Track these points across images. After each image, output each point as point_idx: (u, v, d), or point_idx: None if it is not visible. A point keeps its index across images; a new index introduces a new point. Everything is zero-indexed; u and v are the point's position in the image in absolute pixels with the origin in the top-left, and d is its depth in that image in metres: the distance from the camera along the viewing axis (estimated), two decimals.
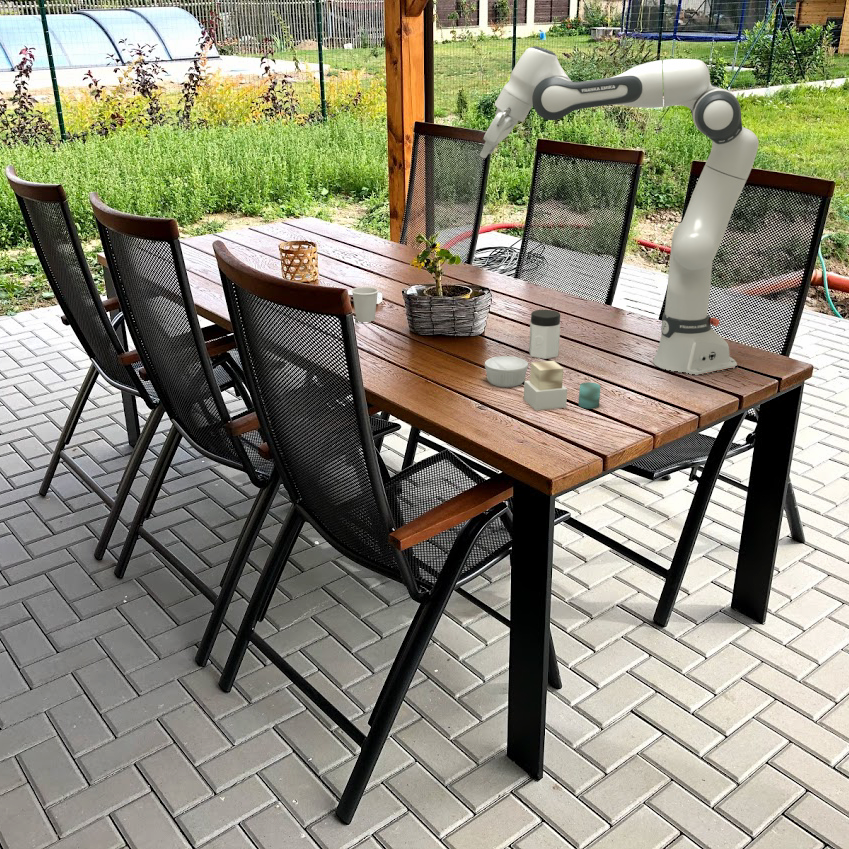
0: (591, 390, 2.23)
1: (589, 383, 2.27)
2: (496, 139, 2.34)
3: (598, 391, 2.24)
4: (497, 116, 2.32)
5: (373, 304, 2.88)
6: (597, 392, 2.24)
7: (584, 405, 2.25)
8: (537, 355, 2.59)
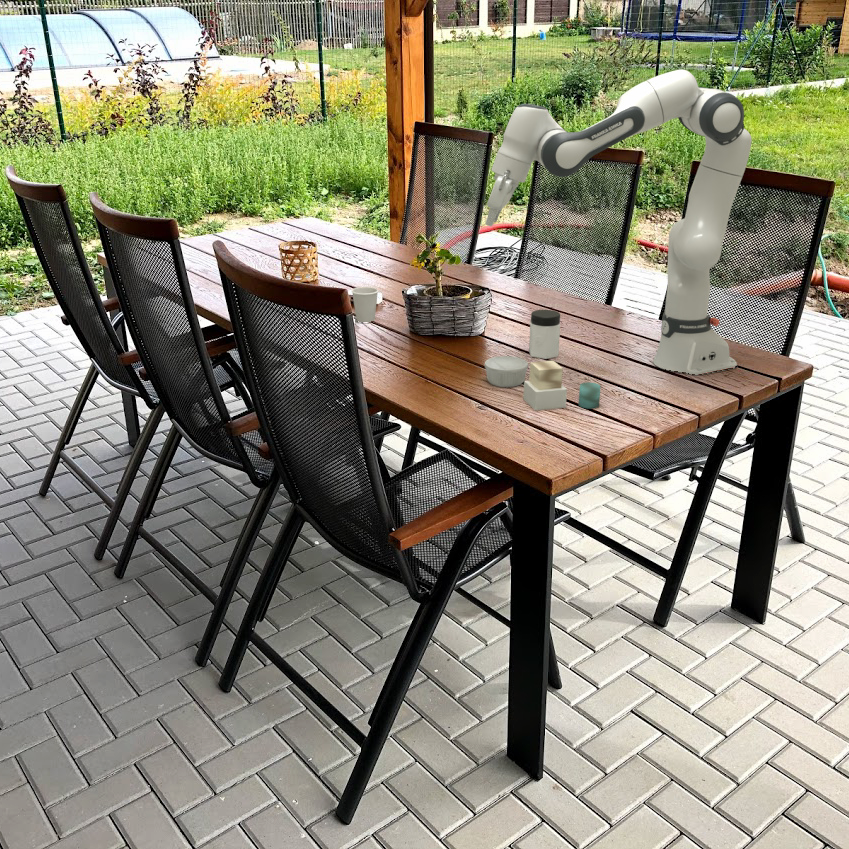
0: (591, 390, 2.23)
1: (589, 383, 2.27)
2: (501, 203, 2.21)
3: (598, 391, 2.24)
4: (498, 180, 2.20)
5: (373, 304, 2.88)
6: (597, 392, 2.24)
7: (584, 405, 2.25)
8: (537, 355, 2.59)
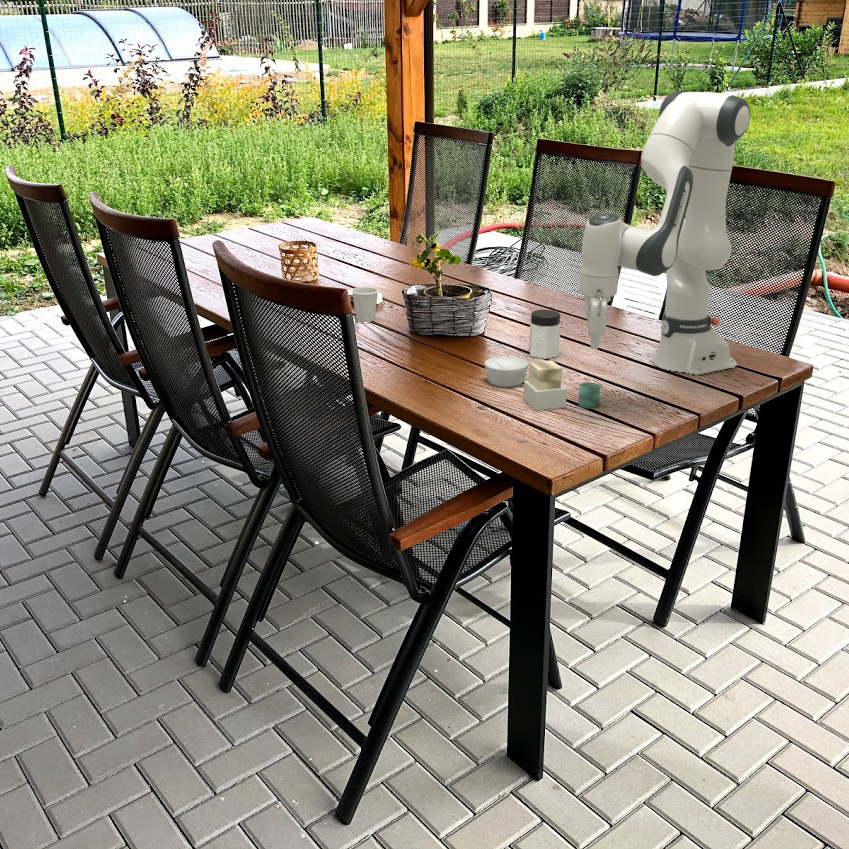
0: (591, 390, 2.23)
1: (589, 383, 2.27)
2: (604, 328, 2.09)
3: (598, 391, 2.24)
4: (593, 306, 2.08)
5: (373, 304, 2.88)
6: (597, 392, 2.24)
7: (584, 405, 2.25)
8: (537, 355, 2.59)
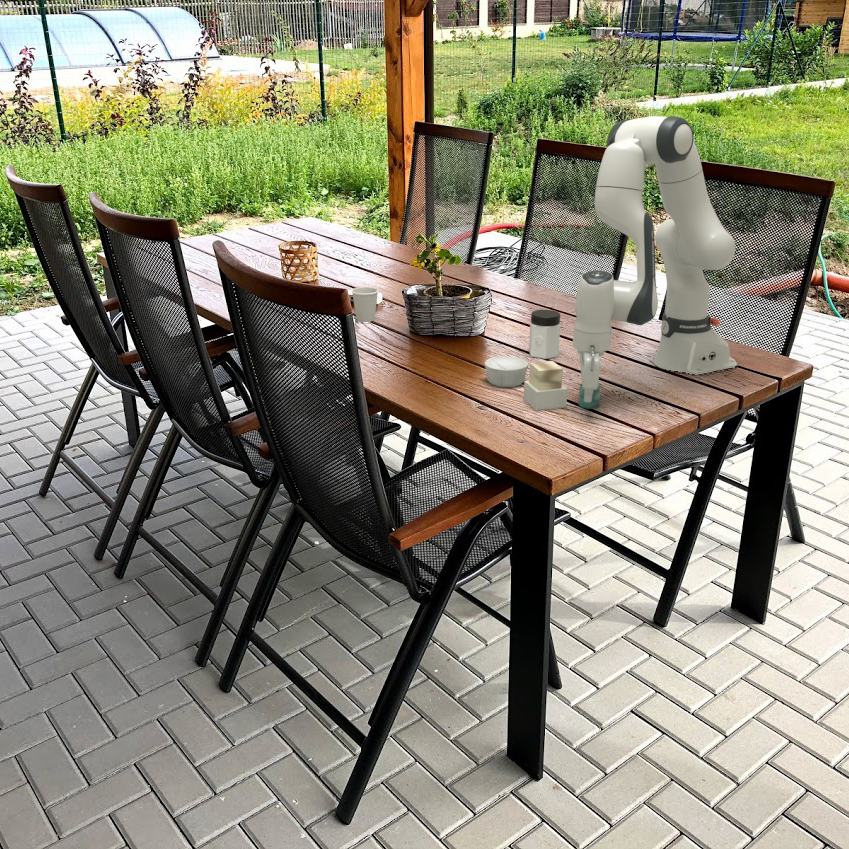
0: None
1: None
2: (596, 383, 2.15)
3: (598, 391, 2.24)
4: (586, 362, 2.14)
5: (373, 304, 2.88)
6: (597, 392, 2.24)
7: (584, 405, 2.25)
8: (537, 355, 2.59)
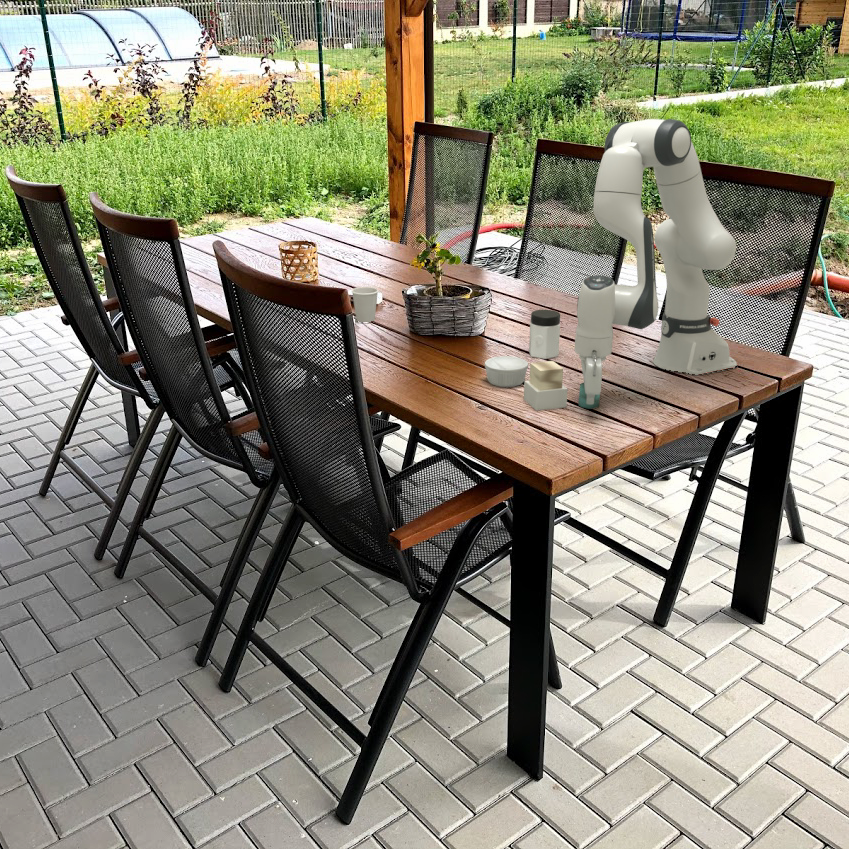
0: None
1: None
2: (599, 388, 2.15)
3: None
4: (589, 367, 2.14)
5: (373, 304, 2.88)
6: None
7: (584, 405, 2.25)
8: (537, 355, 2.59)
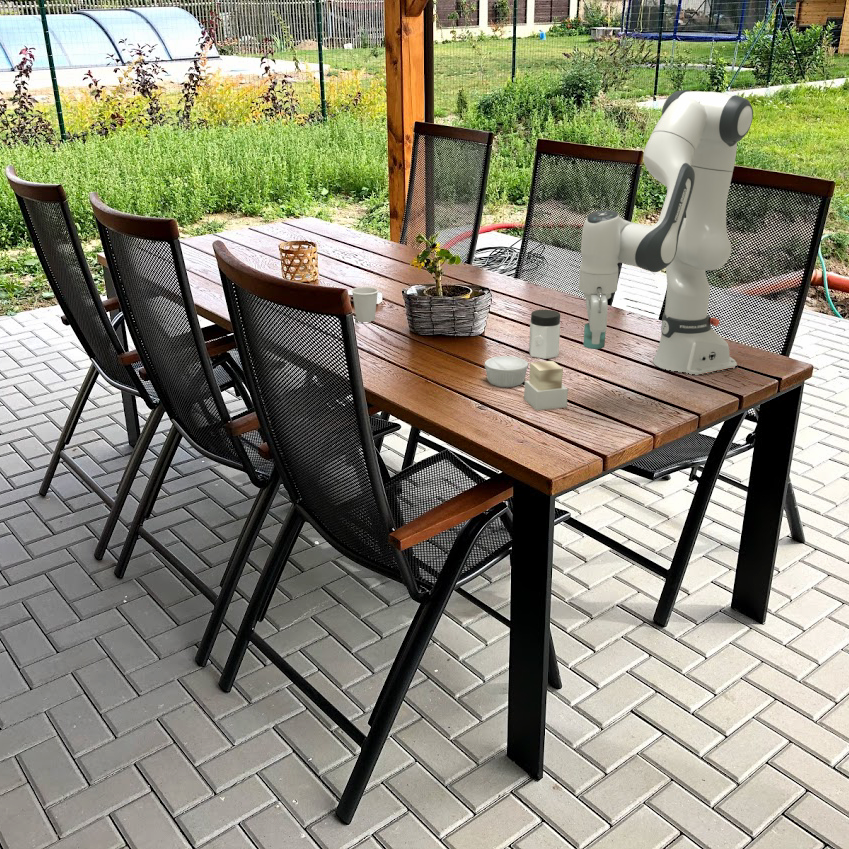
0: None
1: None
2: (605, 325, 2.09)
3: None
4: (594, 303, 2.08)
5: (373, 304, 2.88)
6: None
7: (589, 345, 2.19)
8: (537, 355, 2.59)
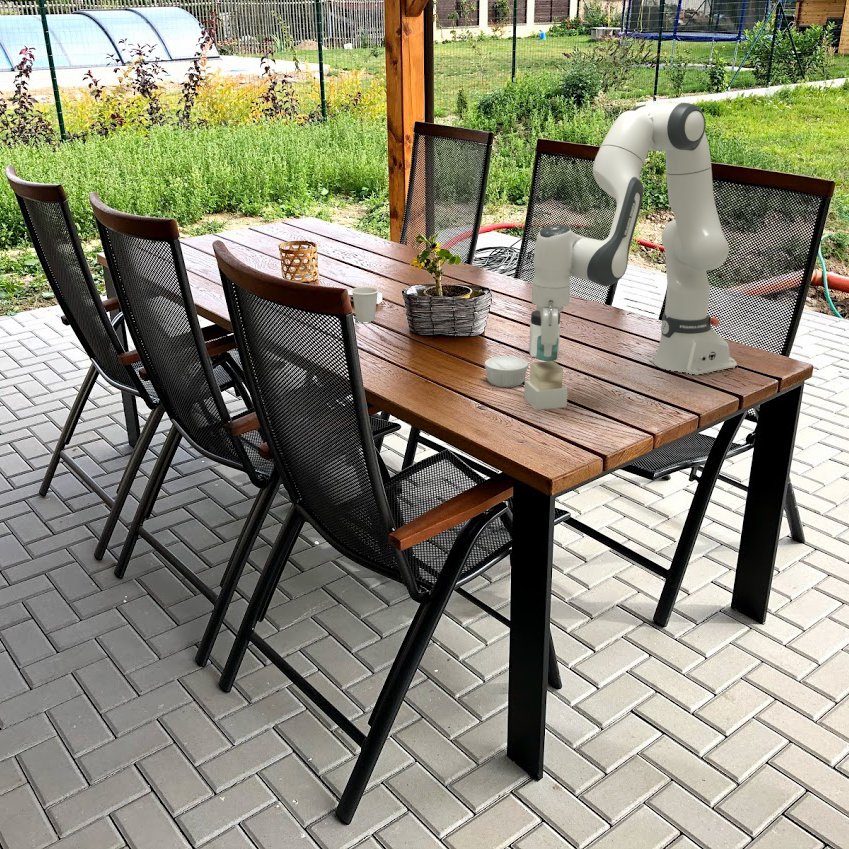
0: None
1: None
2: (555, 338, 2.11)
3: (556, 343, 2.21)
4: (544, 316, 2.11)
5: (373, 304, 2.88)
6: None
7: (542, 357, 2.22)
8: None
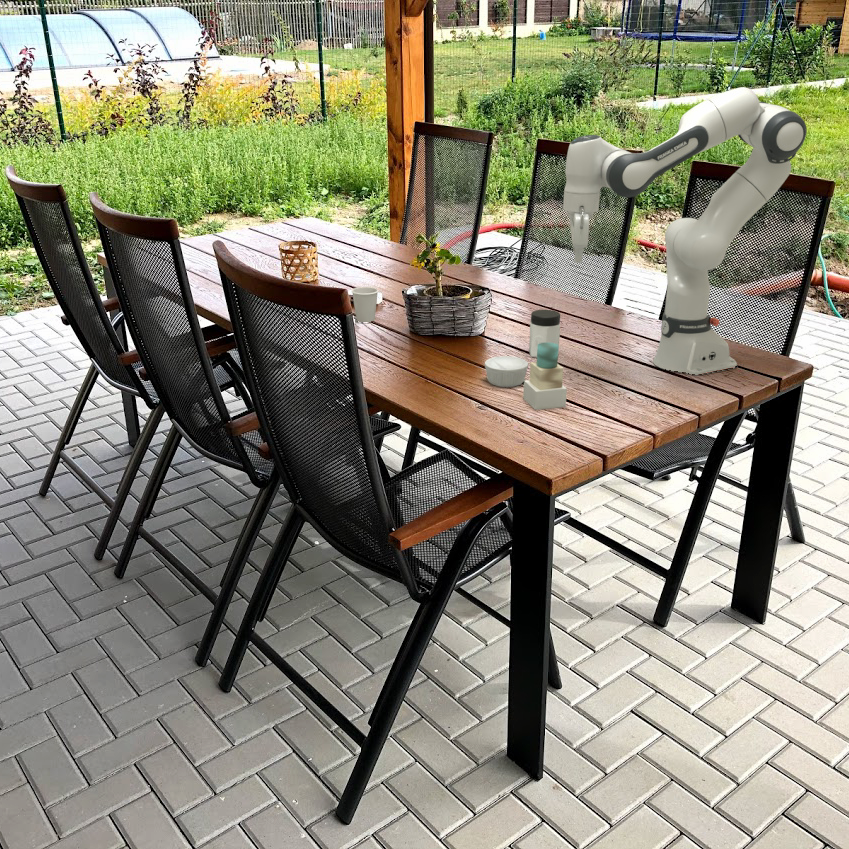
0: (548, 349, 2.21)
1: (547, 343, 2.24)
2: (586, 240, 2.25)
3: (556, 350, 2.22)
4: (576, 220, 2.24)
5: (373, 304, 2.88)
6: (555, 351, 2.21)
7: (542, 365, 2.23)
8: None
